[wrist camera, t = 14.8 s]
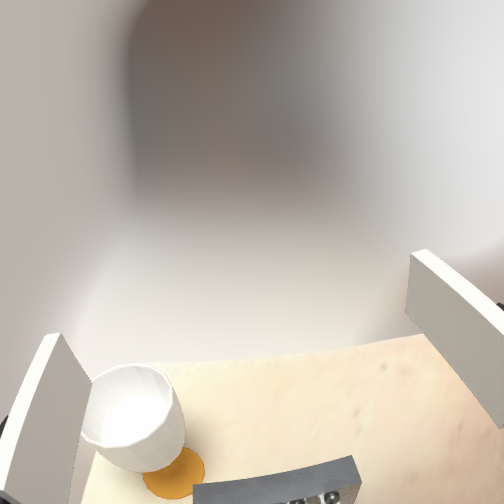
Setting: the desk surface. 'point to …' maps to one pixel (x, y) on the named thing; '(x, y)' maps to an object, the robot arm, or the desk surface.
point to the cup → (142, 428)
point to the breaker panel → (288, 486)
